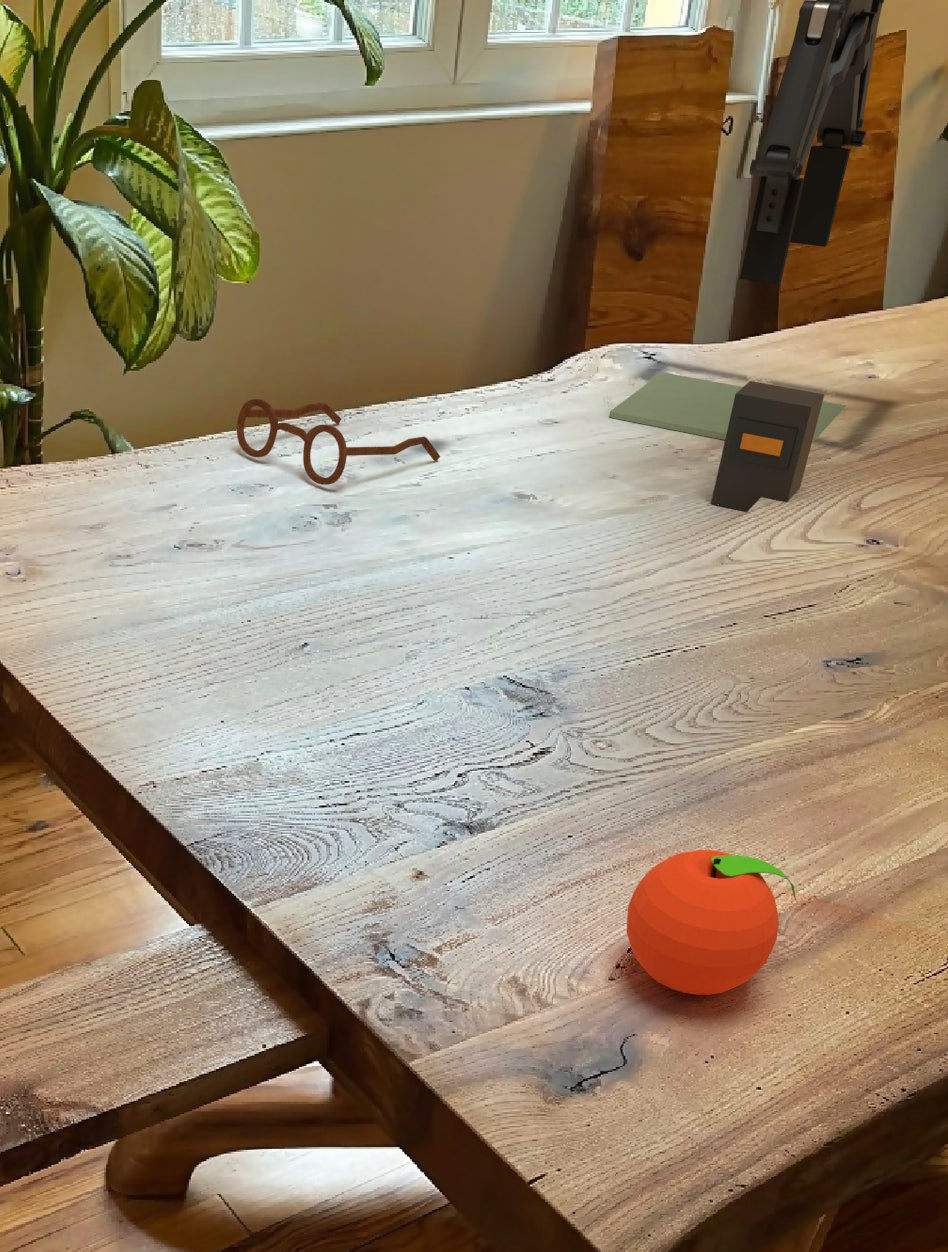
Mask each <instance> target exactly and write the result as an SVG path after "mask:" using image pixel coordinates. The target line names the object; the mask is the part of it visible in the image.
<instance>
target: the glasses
mask: <svg viewBox="0 0 948 1252" xmlns="http://www.w3.org/2000/svg"><path fill="white" fill-rule="evenodd" d="M254 407H259V409H258V408H254ZM253 408H254V409H253ZM260 408H261V409H260ZM318 411H322V412H323V413H324V414H325V415H326V416H327V417H329V418H330V420H332V421H333V422H334V423H335V424H336V425H339V424H340V423H341V421H342V417H340V416H339V415H338V414H337V412H336V411H334V410H333V409H332V408H331V407H330V406H329V404H327V403H326V402H317V403H310V404H306V405H303V406H300V407H297V408H295V409H281V408H280V409H277V408H276V409H275V408H273V407H272V405H271V404H270V403H269V402H267V401H265V400H264V399H260V398H252V399H248V400H247V401H246V402H245V403H244V404H243V405H242V407H241V409H240V410H239V414H238V416H237V420H236V437H237V442H238V444H239V446H240V448H241V450H242V451H243V453H245V454H246V455H248V456H250V457H251V458H252V457H253V458H263V457H266V456H268V455H269V454H270V452H271V451H272V449H273V447H274V445H275V442H276V439H277V436H278V435H277V434H278V431H284V432H286V433H289V434H291V435H294V436H297V437H299V438H300V439H301V440H302V441H303V452H302V461H303V469H304V471H305V473H306V475H307V476H308V478H309V479H310V480H311V481H313V482H314V483H316V484H318V485H321V486H325V485H326V486H327V485H333V484H335V483H336V482H337V481H338V480H339V479H340V478H341V476H342V475H343V473H344V471H345V467H346V464H347V457H351V456H352V457H353V456H354V457H355V456H387V455H388V456H391V455H392V456H393V455H397V454H399V453H401V452H402V451H405V450H407V449H408V448H411V447H416V446H418V445H421V446H422V447H423V449H424V450H425V451H426V453H427V454H428V455H429V456H430V458H431V459H432V460H433V461H434V462H438V460H439V459H440V457H441V455H440V454H439V453H438V451H437V450H436V449H435V447H434V446H433V444H432V443H431V441H430V440H429V438H428V437H426V436H417V437H411V438H408V439H406V440H403V441H402V442H400V443H399V442H398V443H397V444H395V445H392V446H389V445H387V446H386V445H385V446H384V445H383V446H347V443H346V439H345V437H344V435H343V434H342V432H341V431H340V430H339V429H338V428H337V427H335V426H333V425H331V424H317V425H315V426H314V427H312V428H311V429H310V430H308V432H306V431H305V429H303V428H301V427H299V426H296V425H294V424H291V423H288V422H279V419H278V418H298V417H301V416H303V415H306V414H308V413H311V412H318ZM246 418H268V420H269V427H270V428H269V434H268V438H267V441H266V442H265V445H264V446H263V447H262V448H261V449H259V450H257V449H254V448H252V447H251V446H250V444H248V442H247V439H246V436H245V423H246ZM324 432H325V433H328V434H330V435H331V436H332V437H333V438H334V439H335V441H336V444H337V447H338V461H337V464H336V466H335V470H334V471H333V472H332V474H331V475H329V476H327V477H324V476H321V475H319V474H318V473H317V472H316V471H315V469H314V468H313V465H312V459H311V452H312V446H313V442H314V440H315V438H316V437H317V436H318V435H319V434H321V433H324Z"/></svg>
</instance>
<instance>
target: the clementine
mask: <svg viewBox="0 0 948 1252" xmlns="http://www.w3.org/2000/svg"><path fill="white" fill-rule="evenodd" d="M761 874H772V875H776V876H779V877H782V878H784V879H786V880H787V881H788V882H789V884H790V887H791V891H792V893H793V897H794V900H797V896H796V890H795V885H794V884H793V883H792V882H791V880H790V879H789V878H788V877H787V876H786V874H785V873H784V872H783V871H782V870H781V869H779V868H778V867H776V866H774V865H773V864H771V863H769V862H767V861H764V860H762V859H759V858H755V857H751V856H748V855H747V856H745V855H739V854H736V855H735V854H730V853H727V852H724V851H721V850H714V849H697V850H689V851H685V852H679V853H676V854H674V855H671V856H669V857H667V858H666V859H664V860H663V861H661V862H659V863H657V864H656V865H655V866H654V867H652V868H651V869H649V870H648V871H647V873H646V874H645V875H644V876H643V877H642V878H641V880H640V881H639V882H638V884H637V885H636V887H635V888H634V891H633V893H632V895H631V898H630V900H629V902H628V905H627V917H626V918H627V919H626V936H627V938H628V942H629V946H630V948H631V952H632V954H633V957H634V958H635V959H636V961H637V962H638V963H639V964H640V966H641V967H642V969H644V970H645V972H646V973H647V974H648V976H650V977H651V979H654V981H656V982H657V983H659V984H661V985H663V986H665V987H667V988H669V989H671V990H673V991H676V992H681V993H684V994H690V995H696V996H697V995H699V996H701V995H702V996H703V995H707V996H708V995H709V996H710V995H716V994H721V993H725V992H727V991H729V990H732V989H734V988H736V987H738V986H740V985H743V984H745V983H747V982H748V981H749V980H750V979H751V978H752V977H753V976H754V975H755V974H757V973H758V971H759V970H760V969H761V968H763V967H764V966H765V965H766V963H767V961H768V959H769V957H770V955H771V953H772V951H773V949H774V947H775V944H776V942H777V940H778V933H779V924H780V921H779V913H778V912H779V911H778V908H777V902H776V898H775V895H774V894H773V892H772V890H771V889H770V887H769V885H768V883H767V881H766V880H765V878H764V877H763V876H762V875H761Z"/></svg>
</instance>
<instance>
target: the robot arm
mask: <svg viewBox="0 0 948 1252" xmlns="http://www.w3.org/2000/svg"><path fill="white" fill-rule="evenodd" d="M884 3H885V0H803V2H802V5H801V6H800V8H799V12H798V20H797V25H796V28H795V32H794V36H793V41H792V45H791V47H790V50H789V54H788V58H787V60H786V64H785V67H784V70H783V74H782V76H781V80H780V83H779V85H778V86H779V87H778V90H777V93H776V95H775V100H774V103H773V106H772V108H771V113H770V115H769V119H768V121H767V125H766V129H765V132H764V135H763V138H762V142H761V145H760V148H759V151H758V154H757V155H756V158H755V159H754V158H753V159H751V162H750V166H749V175H750V176H756V177H760V180H759V186H758V189H757V195H756V199H755V205H754V209H753V213H752V219H751V224H750V227H749V231H748V237H747V241H746V247H745V251H744V252H745V253H744V257H743V261H742V266H741V271H740V275H739V280H744V281H750V282H751V281H753V282H758V283H765V284H772V285H779V284H781V283H782V280H783V275H784V272H785V267H786V262H787V257H788V253H789V249H790V246H791V245H790V244H791V243H792V244H800V245H808V246H813V247H814V246H815V247H823V248H826V247H827V246H828V245H829V241H830V236H831V231H832V228H833V224H834V220H835V215H836V213H837V212H836V211H837V207H838V203H839V199H840V195H841V191H842V188H843V187H842V186H843V183H844V180H845V179H844V178H845V174H846V170H847V166H848V162H849V157H850V154H851V148H846V147H852V148H862V147H863V145H864V142H865V140H866V135H867V131H866V130H861V129H862V128H863V126H864V122H865V120H864V116H865V110H866V102H867V98H868V91H869V86H870V85H869V84H870V79H871V78H870V77H871V72H872V66H873V65H872V64H873V59H874V53H875V52H874V51H875V46H876V39H877V33H878V28H879V22H880V17H881V13H882V8H883V4H884ZM815 137H816V143H817V144H821V145H816V144H813V142H814V140H815ZM805 165H806V167H805ZM804 169H805V170H804ZM803 173H804V176H803V177H801V175H802V174H803Z"/></svg>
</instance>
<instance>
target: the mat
mask: <svg viewBox="0 0 948 1252" xmlns="http://www.w3.org/2000/svg"><path fill="white" fill-rule="evenodd" d="M743 387H744V386H741V385H735V384H729V383H724V382H719V381H713V380H707V379H703V378H697V377H690V376H685V375H681V374H674V373H669V372H664V371H663V372H660V373H659V374H658V375H657V376H654V378H653V379H651V380H650V381H649V382H646V384H644V385H643V386H642V387H640V388H639V389H637V391H635V392H634V393H632V394H630V396H628V397H627V398H625V399H624V400H623V401H622V402H620V403H619V404H618V405H616V406H615V407H613V408H612V409H610V411H609V415H608V418H611V419H615V420H620V421H624V422H625V421H627V422H632V423H636V424H642V425H646V426H652V427H657V428H663V429H667V430H671V431H678V432H682V433H686V434H693V435H698V436H703V437H707V438H712V439H718V440H722V441H725V438H726V434H727V429H728V425H729V420H730V416H731V411H732V407H733V403H734V398H735V394H736V393H737V392H738V391H739V390H740V389H741V388H743ZM847 406H848V405H845V404H841V403H835V402H830V401H824V400H823V402H822V406H821V410H820V413H819V417H818V421H817V425H816V429H815V433H814V436H813V440H812V443H814V441H816V439H817V438H818V437H820V436H821V434H822V433H823V432H824V431H825V430H826V429H827V427H829V425H831V423H832V422H833V421H834V420H835V419H836V418H837V417H838V416H839V415H840V414H841V412H843V411H844V409H846V408H847Z"/></svg>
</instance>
